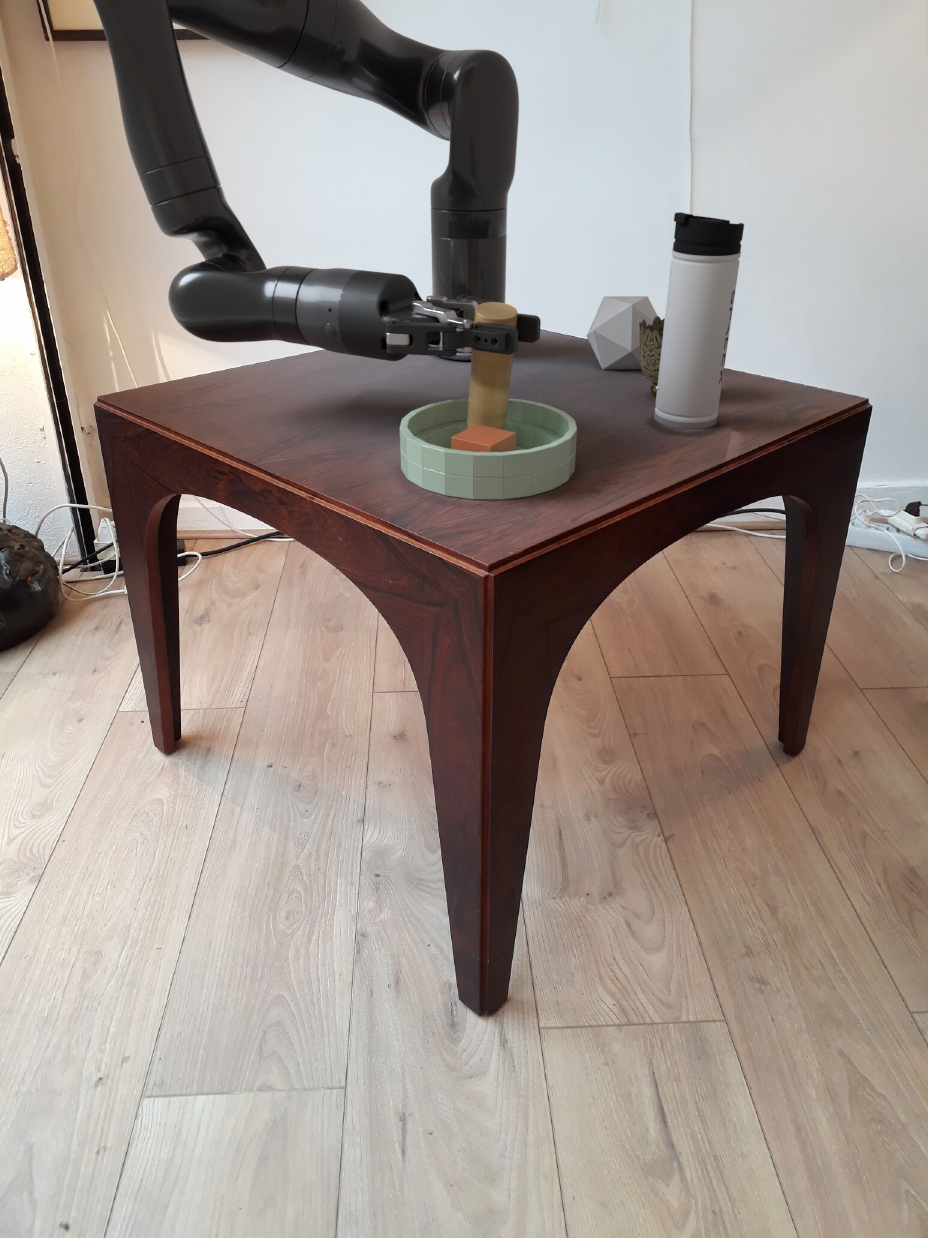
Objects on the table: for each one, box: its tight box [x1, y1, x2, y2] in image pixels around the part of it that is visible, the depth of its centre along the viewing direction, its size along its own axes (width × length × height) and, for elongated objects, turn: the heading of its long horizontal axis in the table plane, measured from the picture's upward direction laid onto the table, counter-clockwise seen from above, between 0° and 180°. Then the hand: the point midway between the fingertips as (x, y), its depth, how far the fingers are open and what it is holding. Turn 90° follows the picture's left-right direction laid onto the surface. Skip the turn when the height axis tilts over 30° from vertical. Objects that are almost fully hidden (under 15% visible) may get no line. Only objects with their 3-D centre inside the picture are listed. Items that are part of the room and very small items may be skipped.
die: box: [586, 295, 658, 370], centre depth 110 cm, size 8×9×10 cm
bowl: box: [399, 397, 578, 501], centre depth 81 cm, size 15×15×4 cm
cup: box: [639, 315, 665, 398], centre depth 99 cm, size 8×7×8 cm
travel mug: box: [653, 212, 745, 430], centre depth 88 cm, size 6×7×20 cm
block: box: [451, 424, 516, 452], centre depth 78 cm, size 4×4×4 cm
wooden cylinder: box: [466, 302, 519, 430], centre depth 81 cm, size 4×4×12 cm
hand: (526, 335), depth 77 cm, fingers closed on wooden cylinder, 4 cm apart
